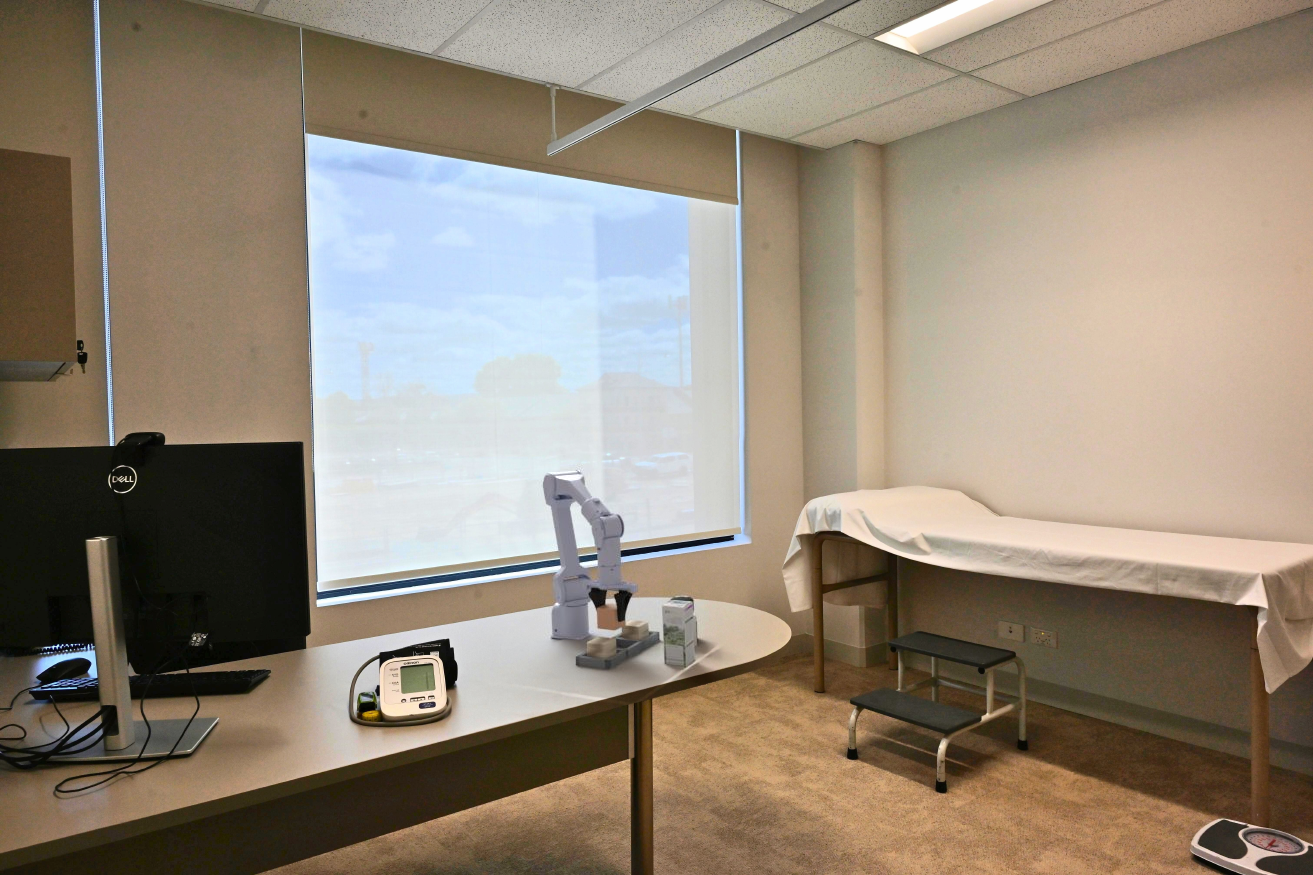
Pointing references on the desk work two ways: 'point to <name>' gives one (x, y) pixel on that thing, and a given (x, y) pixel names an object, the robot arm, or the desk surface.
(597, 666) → the organiser tray
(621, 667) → the desk surface
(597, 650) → the ash block near
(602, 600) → the robot arm
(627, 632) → the ash block far
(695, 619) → the medicine bottle
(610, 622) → the terracotta block
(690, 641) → the syrup box
